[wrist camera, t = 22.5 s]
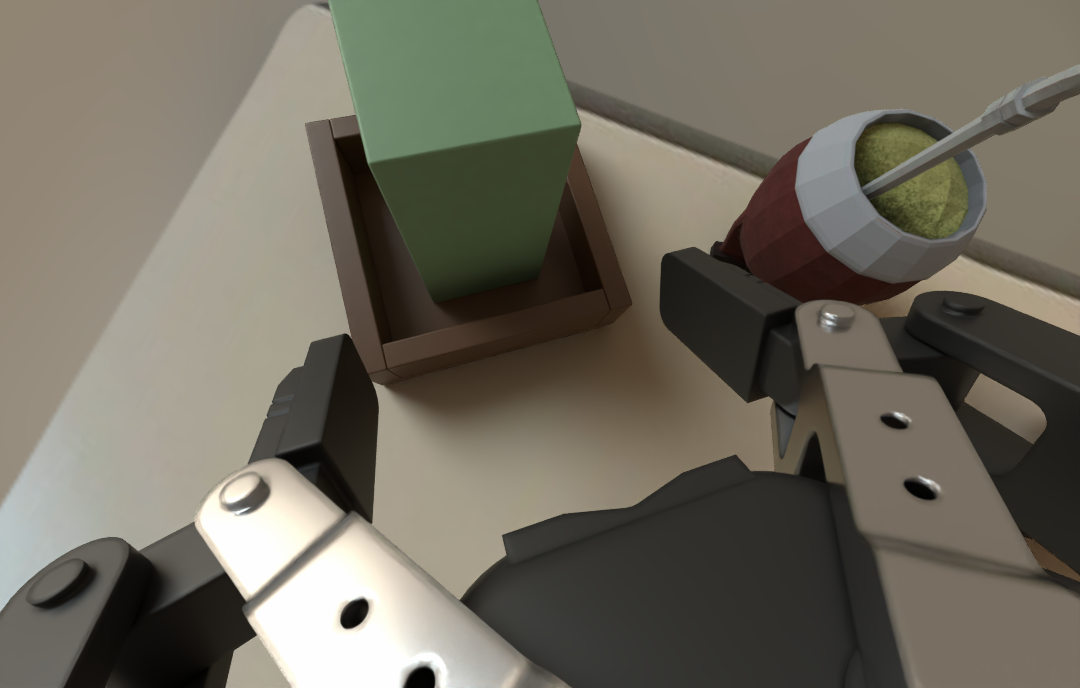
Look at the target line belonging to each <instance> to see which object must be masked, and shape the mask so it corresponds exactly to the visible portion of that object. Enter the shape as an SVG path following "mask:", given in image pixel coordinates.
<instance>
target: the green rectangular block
mask: <svg viewBox="0 0 1080 688" xmlns="http://www.w3.org/2000/svg"><path fill="white" fill-rule="evenodd" d="M328 3H329V7H330V12H331V16H332V20H333V24H334V28H335V32H336V36H337V40H338V44H339V48H340V52H341V56H342V60H343V65H344V69H345V73H346V77H347V81H348V85H349V89H350V93H351V97H352V101H353V105H354V109H355V113H356V117H357V122H358V126H359V130H360V134H361V138H362V142H363V146H364V150H365V154H366V158H367V162H368V165H369V167H370V170H371V172H372V174H373V176H374V178H375V180H376V182H377V184H378V186H379V189H380V191H381V193H382V195H383V197H384V199H385V201H386V203H387V206H388V208H389V210H390V212H391V214H392V216H393V218H394V220H395V223H396V225H397V227H398V229H399V231H400V233H401V235H402V237H403V239H404V242H405V244H406V246H407V248H408V250H409V252H410V254H411V256H412V259H413V261H414V263H415V265H416V267H417V269H418V271H419V273H420V276H421V278H422V280H423V282H424V284H425V286H426V288H427V290H428V292H429V295H430V297H431V299H432V301H433V303H437V302H441V301H446V300H450V299H454V298H458V297H462V296H466V295H470V294H474V293H478V292H482V291H486V290H491V289H495V288H499V287H503V286H507V285H511V284H515V283H519V282H523V281H527V280H531V279H536V278H538V277H539V275H540V271H541V268H542V264H543V261H544V257H545V254H546V250H547V246H548V243H549V239H550V236H551V232H552V229H553V225H554V222H555V218H556V215H557V211H558V207H559V204H560V200H561V197H562V193H563V190H564V186H565V183H566V179H567V175H568V172H569V168H570V165H571V161H572V158H573V154H574V151H575V147H576V144H577V140H578V136H579V133H580V129H581V121H580V118H579V116H578V113H577V110H576V107H575V104H574V102H573V99H572V96H571V93H570V90H569V87H568V85H567V82H566V79H565V76H564V73H563V71H562V68H561V65H560V62H559V59H558V56H557V53H556V51H555V48H554V45H553V42H552V39H551V37H550V34H549V31H548V28H547V25H546V22H545V19H544V17H543V14H542V11H541V8H540V5H539V2H538V0H328Z"/></svg>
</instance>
